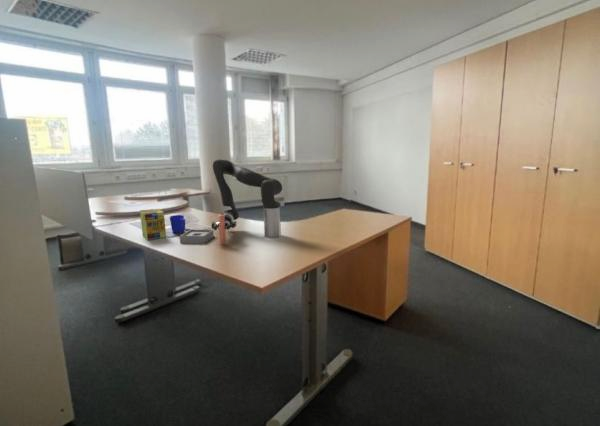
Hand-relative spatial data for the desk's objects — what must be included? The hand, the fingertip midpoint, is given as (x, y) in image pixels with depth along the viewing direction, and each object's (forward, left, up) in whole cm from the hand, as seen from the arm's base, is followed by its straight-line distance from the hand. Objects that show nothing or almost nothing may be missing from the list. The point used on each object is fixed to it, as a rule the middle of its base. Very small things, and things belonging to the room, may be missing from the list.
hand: (221, 228), depth 165 cm
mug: (+36, -25, -10) cm, 46 cm away
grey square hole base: (+18, -10, -10) cm, 23 cm away
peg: (0, -2, -10) cm, 10 cm away
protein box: (+48, -16, -10) cm, 51 cm away
